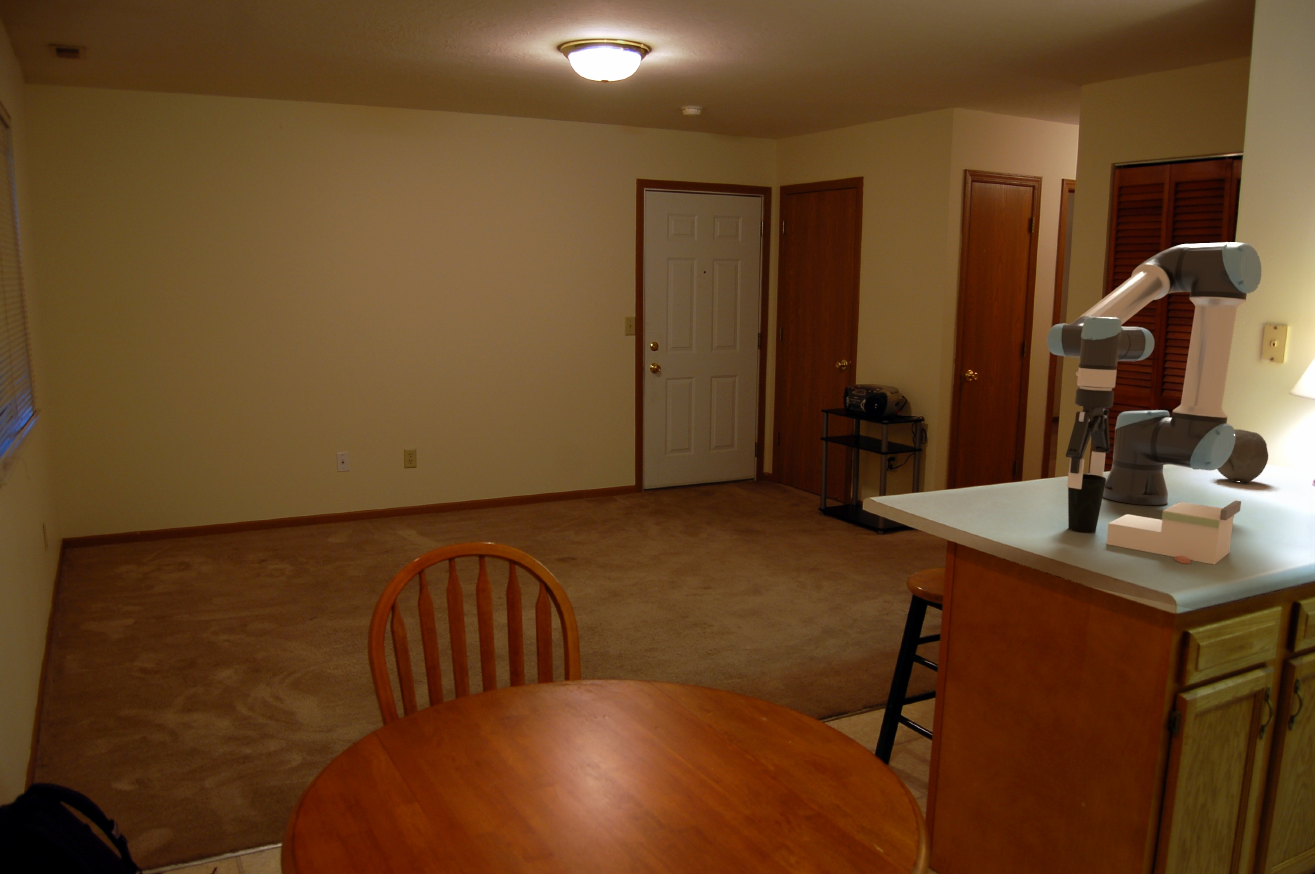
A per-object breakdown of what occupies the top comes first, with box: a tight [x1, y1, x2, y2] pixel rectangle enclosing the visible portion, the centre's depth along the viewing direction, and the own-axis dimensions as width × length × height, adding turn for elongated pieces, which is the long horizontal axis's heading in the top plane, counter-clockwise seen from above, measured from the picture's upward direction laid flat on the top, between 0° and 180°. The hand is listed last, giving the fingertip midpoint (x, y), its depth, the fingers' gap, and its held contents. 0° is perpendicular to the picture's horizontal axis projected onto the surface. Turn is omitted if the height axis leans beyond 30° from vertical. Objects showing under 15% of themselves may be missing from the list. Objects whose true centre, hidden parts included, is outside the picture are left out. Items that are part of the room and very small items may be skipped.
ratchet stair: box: [1106, 499, 1242, 565], centre depth 189 cm, size 16×21×11 cm
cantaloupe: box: [1216, 428, 1269, 483], centre depth 265 cm, size 14×14×15 cm
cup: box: [1067, 473, 1107, 534], centre depth 205 cm, size 8×8×12 cm
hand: (1085, 484), depth 204 cm, fingers open, 13 cm apart
